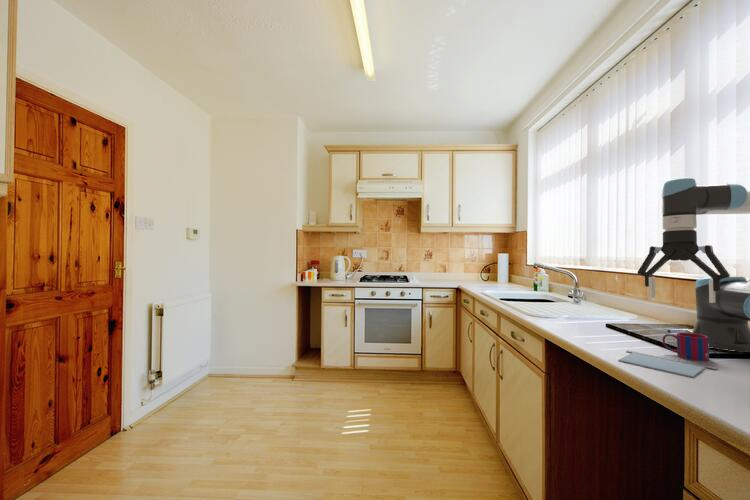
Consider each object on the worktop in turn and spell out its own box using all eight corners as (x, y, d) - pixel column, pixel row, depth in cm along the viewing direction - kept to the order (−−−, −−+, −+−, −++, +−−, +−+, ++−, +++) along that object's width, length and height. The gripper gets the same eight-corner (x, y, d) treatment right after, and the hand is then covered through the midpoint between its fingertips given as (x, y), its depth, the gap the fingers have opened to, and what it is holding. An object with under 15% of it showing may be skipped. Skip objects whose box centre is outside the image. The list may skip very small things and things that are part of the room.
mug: (708, 363, 91) (707, 339, 91) (661, 355, 99) (660, 333, 99) (710, 357, 95) (709, 335, 95) (665, 350, 103) (664, 329, 103)
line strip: (628, 351, 103) (628, 350, 103) (717, 368, 86) (717, 367, 86) (626, 352, 102) (626, 351, 102) (716, 370, 85) (716, 369, 85)
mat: (632, 354, 100) (632, 352, 100) (704, 368, 87) (704, 367, 87) (618, 361, 94) (618, 359, 94) (693, 377, 81) (693, 376, 81)
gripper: (625, 232, 106) (626, 296, 105) (737, 226, 85) (739, 306, 84) (634, 232, 110) (635, 294, 109) (743, 227, 89) (745, 303, 89)
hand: (680, 299), depth 97 cm, fingers open, 13 cm apart
